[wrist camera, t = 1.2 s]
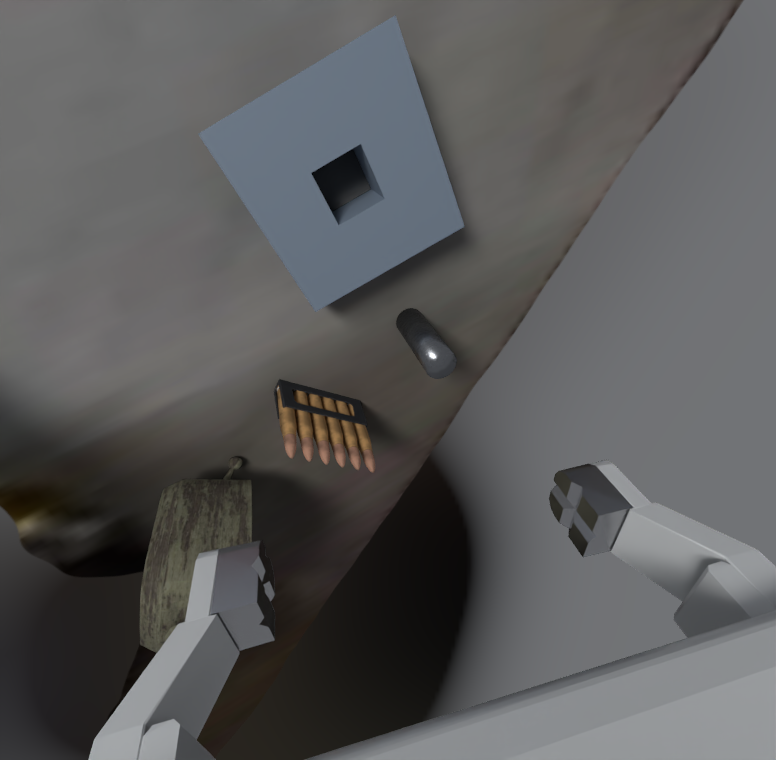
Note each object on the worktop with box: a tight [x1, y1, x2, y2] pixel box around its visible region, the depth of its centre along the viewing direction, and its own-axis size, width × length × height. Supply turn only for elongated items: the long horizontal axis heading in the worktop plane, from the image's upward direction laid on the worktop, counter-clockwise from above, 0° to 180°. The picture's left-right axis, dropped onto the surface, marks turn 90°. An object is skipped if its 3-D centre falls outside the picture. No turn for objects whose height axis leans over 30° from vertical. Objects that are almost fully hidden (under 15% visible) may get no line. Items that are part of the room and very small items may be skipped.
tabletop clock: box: [140, 457, 252, 653], centre depth 43 cm, size 14×9×25 cm, turn 163°
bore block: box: [199, 15, 465, 312], centre depth 35 cm, size 16×16×5 cm
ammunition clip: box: [274, 380, 375, 473], centre depth 45 cm, size 11×2×12 cm, turn 63°
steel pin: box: [396, 308, 457, 379], centre depth 43 cm, size 3×3×10 cm
